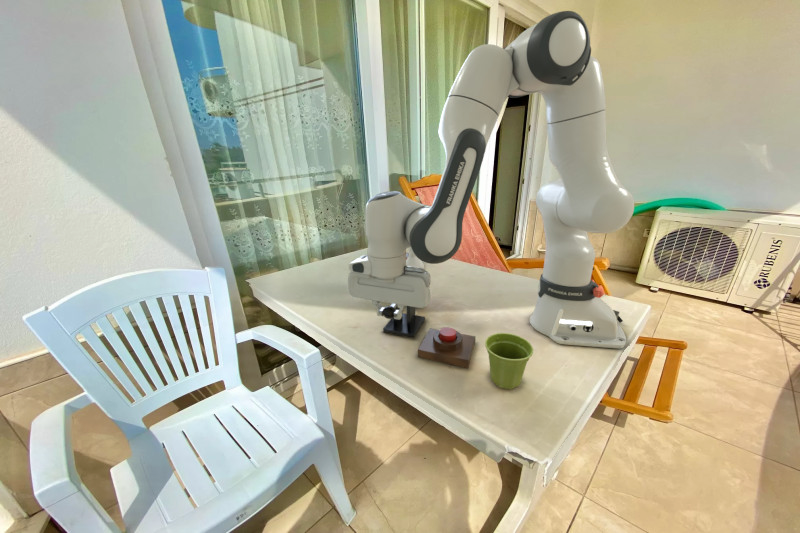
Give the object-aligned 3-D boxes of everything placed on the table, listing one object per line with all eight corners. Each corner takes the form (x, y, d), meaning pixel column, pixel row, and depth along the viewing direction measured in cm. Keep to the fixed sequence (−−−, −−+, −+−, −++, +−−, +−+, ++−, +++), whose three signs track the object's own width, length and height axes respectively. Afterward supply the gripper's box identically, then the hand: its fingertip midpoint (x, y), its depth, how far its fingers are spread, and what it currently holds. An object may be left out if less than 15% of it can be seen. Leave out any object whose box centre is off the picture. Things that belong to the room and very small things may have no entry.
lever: (393, 322, 73) (392, 311, 72) (381, 320, 74) (380, 309, 73) (411, 294, 84) (410, 284, 82) (400, 292, 85) (399, 282, 83)
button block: (475, 343, 77) (475, 330, 76) (468, 368, 69) (468, 353, 67) (429, 335, 82) (429, 322, 80) (418, 357, 73) (417, 343, 72)
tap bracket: (413, 338, 80) (413, 295, 76) (383, 332, 84) (380, 290, 79) (425, 320, 89) (425, 280, 85) (396, 315, 92) (395, 276, 88)
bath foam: (412, 310, 95) (410, 249, 88) (399, 302, 100) (397, 244, 93) (429, 304, 98) (429, 245, 91) (416, 296, 104) (415, 240, 97)
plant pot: (479, 389, 63) (482, 354, 60) (484, 361, 71) (487, 329, 68) (528, 400, 59) (534, 364, 56) (528, 370, 68) (532, 337, 64)
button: (457, 334, 75) (457, 328, 74) (454, 343, 72) (454, 337, 71) (441, 331, 76) (441, 325, 76) (437, 340, 73) (437, 334, 72)
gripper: (434, 264, 69) (433, 317, 74) (355, 255, 76) (359, 304, 81) (426, 274, 64) (426, 330, 68) (342, 264, 71) (347, 316, 76)
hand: (389, 316), depth 75 cm, fingers closed on lever, 3 cm apart
